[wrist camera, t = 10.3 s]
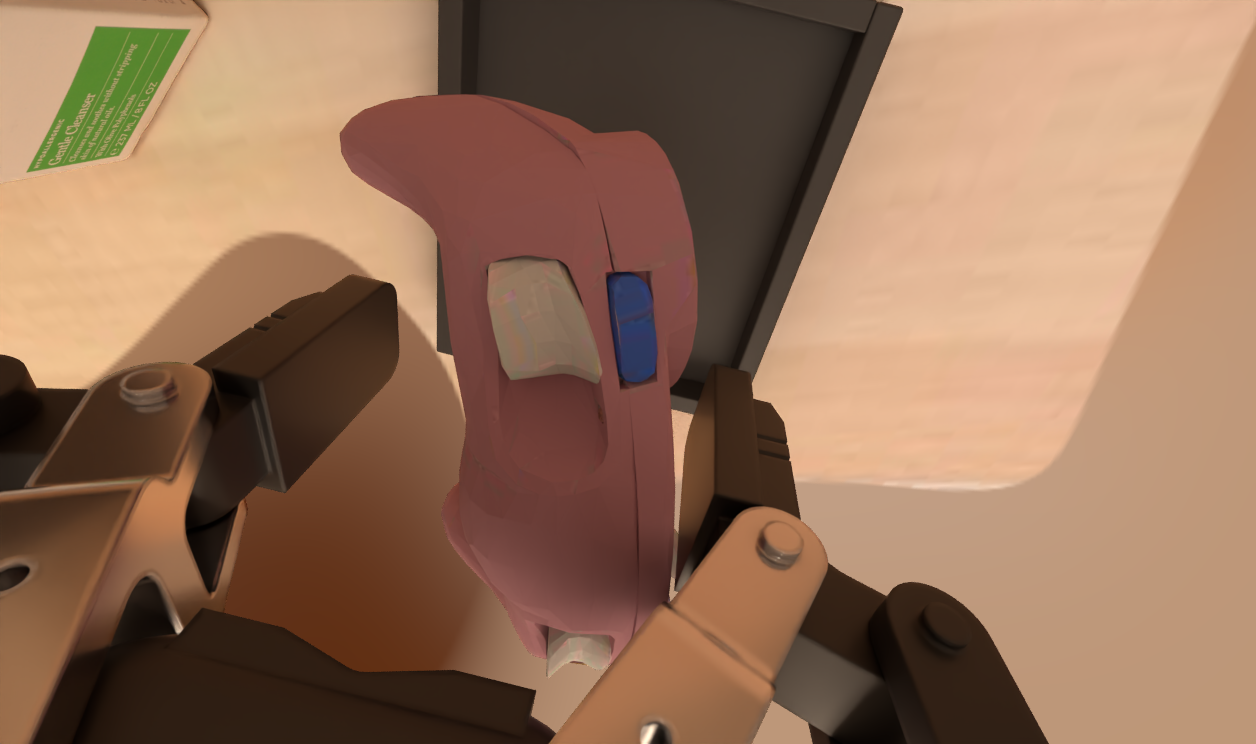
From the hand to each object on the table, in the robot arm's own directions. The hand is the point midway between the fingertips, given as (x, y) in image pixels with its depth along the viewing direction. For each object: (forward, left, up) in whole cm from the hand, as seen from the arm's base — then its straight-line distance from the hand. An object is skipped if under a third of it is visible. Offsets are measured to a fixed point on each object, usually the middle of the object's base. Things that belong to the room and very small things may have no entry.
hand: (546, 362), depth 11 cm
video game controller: (0, 0, -1) cm, 1 cm away
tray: (0, 0, -12) cm, 12 cm away
